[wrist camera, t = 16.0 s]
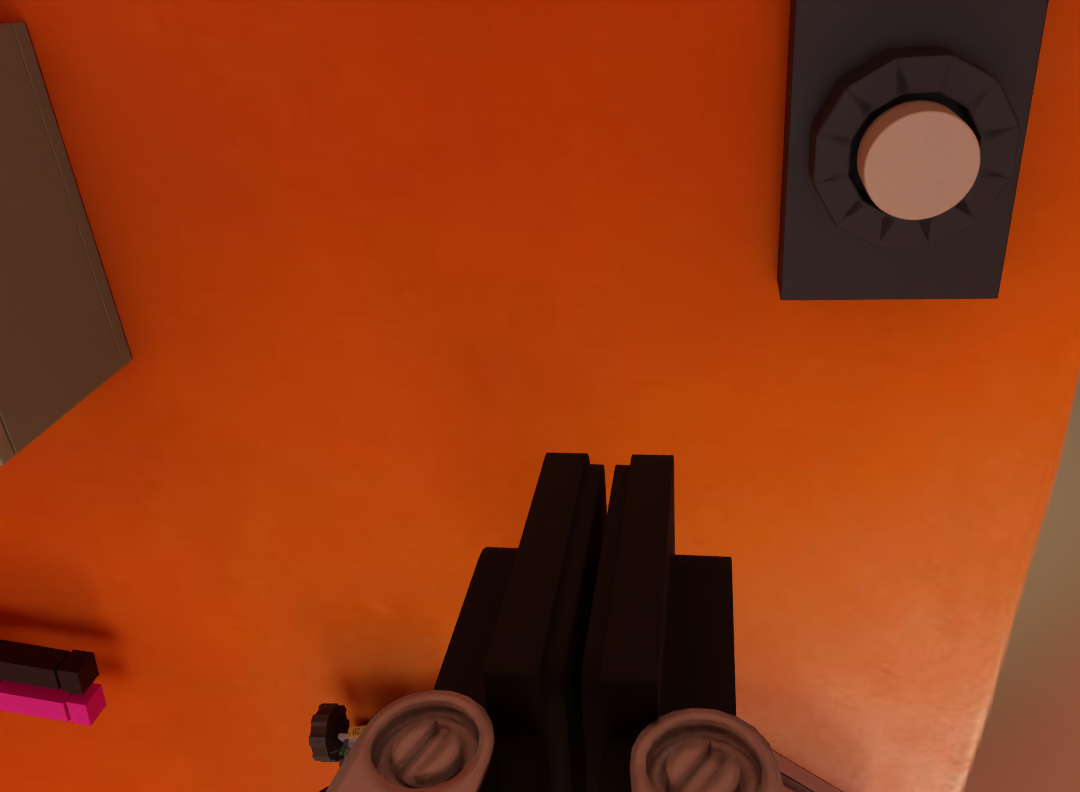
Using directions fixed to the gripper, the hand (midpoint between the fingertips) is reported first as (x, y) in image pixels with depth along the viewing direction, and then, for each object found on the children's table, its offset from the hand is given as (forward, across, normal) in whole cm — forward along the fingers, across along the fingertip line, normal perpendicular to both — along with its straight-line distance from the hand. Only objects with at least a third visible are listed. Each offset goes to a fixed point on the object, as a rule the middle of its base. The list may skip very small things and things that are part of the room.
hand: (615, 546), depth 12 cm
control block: (+27, -8, +1) cm, 28 cm away
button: (+23, -8, +1) cm, 25 cm away
